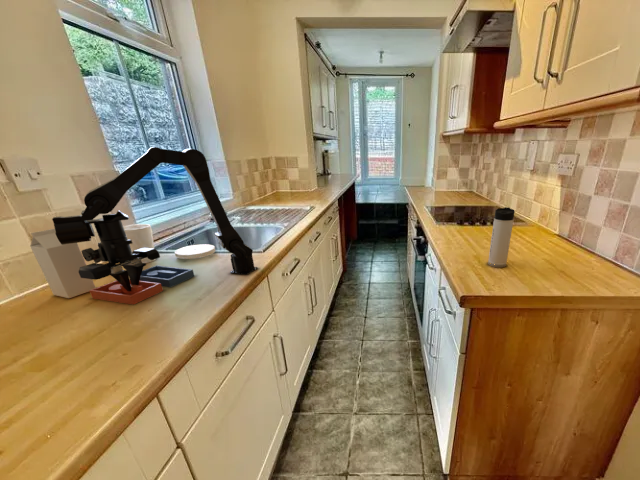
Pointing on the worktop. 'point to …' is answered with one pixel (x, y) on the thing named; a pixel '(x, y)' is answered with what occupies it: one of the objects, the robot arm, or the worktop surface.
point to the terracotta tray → (104, 293)
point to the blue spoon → (162, 274)
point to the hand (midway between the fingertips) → (132, 290)
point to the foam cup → (140, 237)
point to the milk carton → (60, 264)
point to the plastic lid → (195, 251)
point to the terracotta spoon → (121, 289)
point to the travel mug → (501, 237)
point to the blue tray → (182, 276)
